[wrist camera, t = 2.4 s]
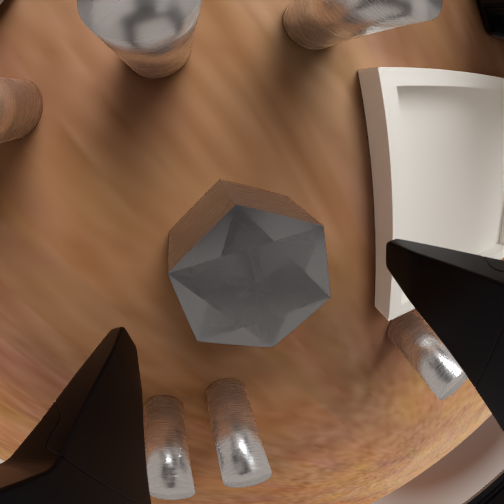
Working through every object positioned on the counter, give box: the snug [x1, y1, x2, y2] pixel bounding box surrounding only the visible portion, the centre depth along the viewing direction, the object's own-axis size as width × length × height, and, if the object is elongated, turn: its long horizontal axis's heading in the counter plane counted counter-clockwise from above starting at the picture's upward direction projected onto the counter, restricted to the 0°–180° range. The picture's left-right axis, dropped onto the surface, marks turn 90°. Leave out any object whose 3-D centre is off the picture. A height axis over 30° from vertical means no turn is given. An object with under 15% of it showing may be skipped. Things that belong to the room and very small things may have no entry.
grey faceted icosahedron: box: [168, 179, 330, 347], centre depth 11 cm, size 5×6×4 cm
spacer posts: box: [0, 0, 467, 500], centre depth 10 cm, size 18×20×6 cm
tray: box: [358, 67, 504, 321], centre depth 14 cm, size 13×13×2 cm
